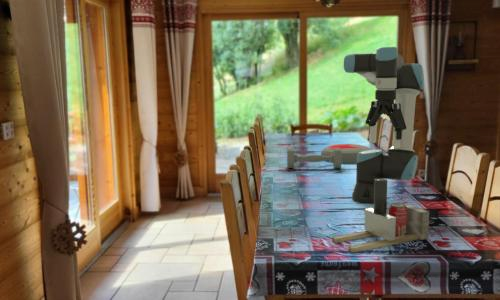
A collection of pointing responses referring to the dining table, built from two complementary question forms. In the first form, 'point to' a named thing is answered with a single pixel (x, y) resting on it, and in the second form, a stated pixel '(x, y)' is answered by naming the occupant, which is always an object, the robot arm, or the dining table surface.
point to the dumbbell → (314, 158)
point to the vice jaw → (380, 213)
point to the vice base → (414, 227)
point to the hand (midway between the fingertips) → (384, 145)
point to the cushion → (346, 151)
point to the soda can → (399, 217)
